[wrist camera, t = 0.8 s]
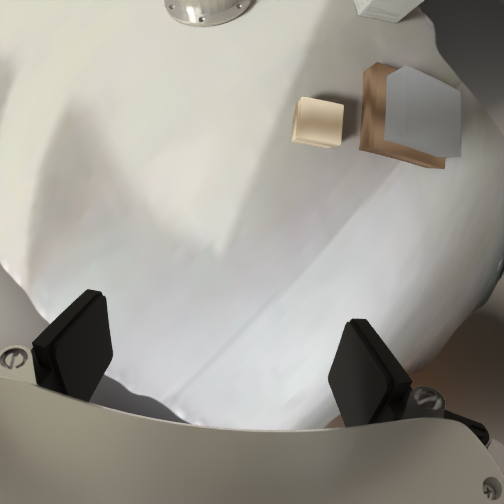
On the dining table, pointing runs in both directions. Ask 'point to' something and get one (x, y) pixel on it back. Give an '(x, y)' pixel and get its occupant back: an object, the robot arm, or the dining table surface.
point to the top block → (423, 113)
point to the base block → (375, 122)
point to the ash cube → (317, 123)
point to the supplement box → (386, 8)
